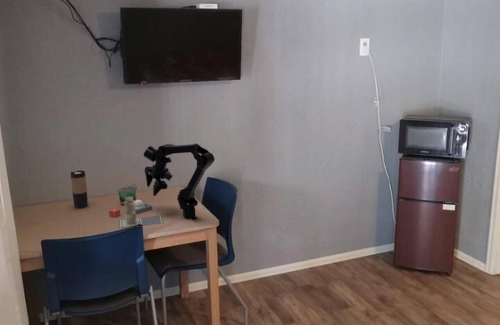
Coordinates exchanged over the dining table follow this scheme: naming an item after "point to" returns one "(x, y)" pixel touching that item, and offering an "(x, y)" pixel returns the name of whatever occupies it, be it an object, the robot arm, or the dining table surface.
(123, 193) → the food container
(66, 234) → the dining table surface
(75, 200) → the travel mug
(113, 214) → the red die
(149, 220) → the board
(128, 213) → the capped square post
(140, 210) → the dome housing
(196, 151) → the robot arm
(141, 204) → the dome button
